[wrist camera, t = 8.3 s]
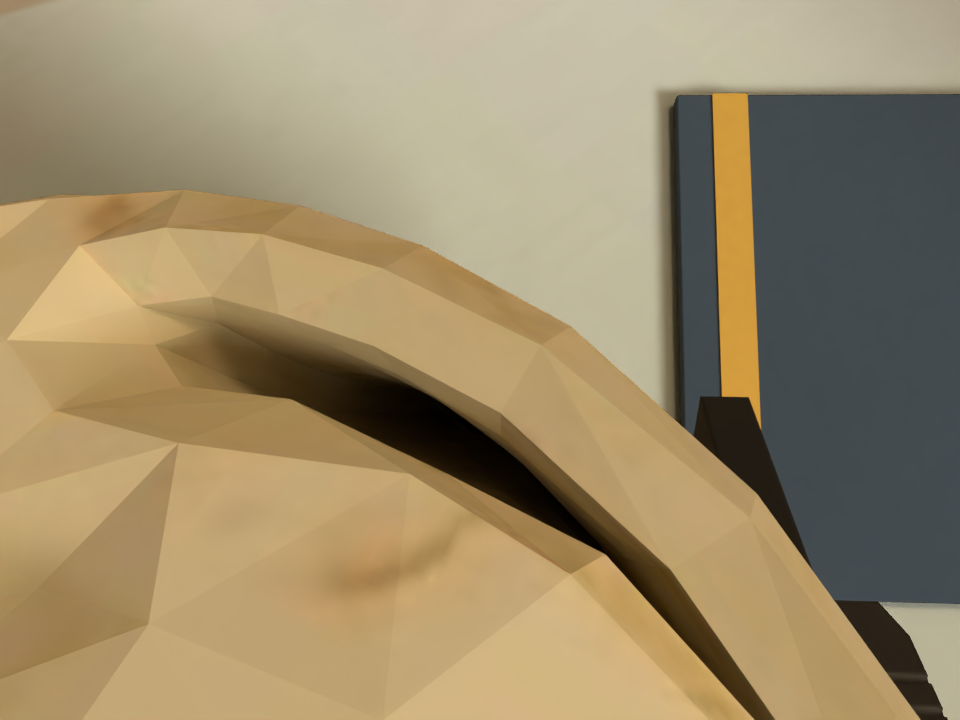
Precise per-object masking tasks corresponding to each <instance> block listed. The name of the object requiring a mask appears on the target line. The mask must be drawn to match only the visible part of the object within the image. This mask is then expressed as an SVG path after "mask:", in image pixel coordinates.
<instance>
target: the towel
mask: <svg viewBox="0 0 960 720" xmlns="http://www.w3.org/2000/svg"><path fill="white" fill-rule="evenodd" d="M674 127H675V173H676V218H677V264H678V310H679V355H680V401H681V426H682V427H683V428H684V429H686V430H687V431H688V432H689V433H690V434H691V435H692V436H693V435H694V430H695V424H696V418H697V412H698V407H699V401H700V396H714V397H749V399H750V402H751V404H752V407H753V410H754V412H755V415H756V418H757V421H758V423H759V426H760V429H761V431H762V434H763V437H764V440H765V442H766V445H767V448H768V450H769V453H770V456H771V459H772V461H773V464H774V467H775V469H776V472H777V475H778V478H779V480H780V483H781V486H782V488H783V491H784V494H785V497H786V499H787V502H788V505H789V507H790V510H791V513H792V516H793V518H794V521H795V524H796V526H797V529H798V532H799V535H800V537H801V540H802V543H803V545H804V548H805V551H806V554H807V556H808V559H809V562H810V564H811V567H812V570H813V572H814V573H815V575H816V576H817V577H818V579H819V580H820V582H821V583H822V584H823V586H824V587H825V589H826V590H827V591H828V593H829V594H830V595H831V597H832V598H833V600H843V601H876V602H909V603H944V604H960V94H897V95H748V93H712V95H679V96H677V98H676V100H675V103H674Z"/></svg>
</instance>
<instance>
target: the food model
mask: <svg viewBox="0 0 960 720" xmlns="http://www.w3.org/2000/svg"><path fill="white" fill-rule="evenodd" d="M0 720H920V718H919V717H918V716H917V714H916V713H915V712H914V710H913V709H912V707H911V706H910V705H909V703H908V702H907V700H906V699H905V698H904V696H903V695H902V694H901V692H900V691H899V689H898V688H897V687H896V685H895V684H894V683H893V681H892V680H891V678H890V677H889V676H888V674H887V673H886V671H885V670H884V669H883V667H882V666H881V665H880V663H879V662H878V660H877V659H876V658H875V656H874V655H873V653H872V652H871V651H870V649H869V648H868V647H867V645H866V644H865V642H864V641H863V640H862V638H861V637H860V635H859V634H858V633H857V631H856V630H855V629H854V627H853V626H852V624H851V623H850V622H849V620H848V619H847V618H846V616H845V615H844V613H843V612H842V611H841V609H840V608H839V606H838V605H837V604H836V602H835V601H834V600H833V598H832V597H831V595H830V594H829V593H828V591H827V590H826V589H825V587H824V586H823V584H822V583H821V582H820V580H819V579H818V577H817V576H816V575H815V573H814V572H813V571H812V569H811V568H810V566H809V565H808V564H807V562H806V561H805V559H804V558H803V557H802V555H801V554H800V553H799V551H798V550H797V548H796V547H795V546H794V544H793V543H792V542H791V540H790V539H789V537H788V536H787V535H786V533H785V532H784V530H783V529H782V528H781V526H780V525H779V524H778V522H777V521H776V519H775V518H774V517H773V515H772V514H771V512H770V511H769V510H768V508H767V507H766V506H765V504H764V503H763V501H762V500H761V499H760V497H759V496H758V495H757V493H756V492H755V491H753V490H752V489H751V488H750V487H749V486H748V485H747V484H746V483H745V482H743V481H742V480H741V479H740V478H739V477H738V476H737V475H736V474H735V473H733V472H732V471H731V470H730V469H729V468H728V467H727V466H726V465H725V464H723V463H722V462H721V461H720V460H719V459H718V458H717V457H716V456H714V455H713V454H712V453H711V452H710V451H709V450H708V449H707V448H706V447H704V446H703V445H702V444H701V443H700V442H699V441H698V440H697V439H696V438H694V437H693V436H692V435H691V434H690V433H689V432H688V431H687V430H686V429H684V428H683V427H682V426H681V425H680V424H679V423H678V422H677V421H676V420H674V419H673V418H672V417H671V416H670V415H669V414H668V413H667V412H666V411H664V410H663V409H662V408H661V407H660V406H659V405H658V404H657V403H655V402H654V401H653V400H652V399H651V398H650V397H649V396H648V395H647V394H645V393H644V392H643V391H642V390H641V389H640V388H639V387H638V386H637V385H635V384H634V383H633V382H632V381H631V380H630V379H629V378H628V377H627V376H625V375H624V374H623V373H622V372H621V371H620V370H619V369H618V368H617V367H615V366H614V365H613V364H612V363H611V362H610V361H609V360H608V359H607V358H605V357H604V356H603V355H602V354H601V353H600V352H599V351H598V350H596V349H595V348H594V347H593V346H592V345H591V344H590V343H589V342H588V341H586V340H585V339H584V338H583V337H582V336H581V335H580V334H579V333H578V332H576V331H575V330H574V329H573V328H572V327H571V326H569V325H567V324H565V323H563V322H562V321H560V320H558V319H556V318H554V317H552V316H551V315H549V314H547V313H545V312H543V311H541V310H540V309H538V308H536V307H534V306H532V305H530V304H529V303H527V302H525V301H523V300H521V299H519V298H518V297H516V296H514V295H512V294H510V293H508V292H507V291H505V290H503V289H501V288H499V287H497V286H496V285H494V284H492V283H490V282H488V281H486V280H485V279H483V278H481V277H479V276H477V275H475V274H474V273H472V272H470V271H468V270H466V269H464V268H463V267H461V266H459V265H457V264H455V263H453V262H452V261H450V260H448V259H446V258H444V257H442V256H441V255H439V254H437V253H435V252H433V251H431V250H430V249H428V248H426V247H424V246H422V245H419V244H416V243H413V242H410V241H407V240H404V239H401V238H398V237H395V236H391V235H388V234H385V233H382V232H379V231H376V230H373V229H370V228H367V227H364V226H361V225H358V224H355V223H352V222H348V221H345V220H342V219H339V218H336V217H333V216H330V215H327V214H324V213H321V212H318V211H315V210H312V209H309V208H305V207H302V206H298V205H291V204H284V203H277V202H270V201H262V200H255V199H248V198H241V197H234V196H227V195H219V194H212V193H205V192H198V191H191V190H173V191H158V192H143V193H128V194H113V195H98V196H90V195H71V194H60V195H53V196H47V197H41V198H35V199H29V200H23V201H17V202H11V203H5V204H0Z"/></svg>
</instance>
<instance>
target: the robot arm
mask: <svg viewBox="0 0 960 720" xmlns="http://www.w3.org/2000/svg"><path fill="white" fill-rule="evenodd" d="M693 437H694V438H696V439H697V440H698V441H699V442H700V443H701V444H702V445H703V446H704V447H706V448H707V449H708V450H709V451H710V452H711V453H712V454H713V455H714V456H716V457H717V458H718V459H719V460H720V461H721V462H722V463H723V464H725V465H726V466H727V467H728V468H729V469H730V470H731V471H732V472H733V473H735V474H736V475H737V476H738V477H739V478H740V479H741V480H742V481H743V482H745V483H746V484H747V485H748V486H749V487H750V488H751V489H752V490H753V491H755V492H756V493H757V495H758V496H759V497H760V499H761V500H762V501H763V503H764V504H765V506H766V507H767V508H768V510H769V511H770V512H771V514H772V515H773V517H774V518H775V519H776V521H777V522H778V524H779V525H780V526H781V528H782V529H783V530H784V532H785V533H786V535H787V536H788V537H789V539H790V540H791V542H792V543H793V544H794V546H795V547H796V548H797V550H798V551H799V553H800V554H801V555H802V557H803V558H804V559H805V561H806V562H807V564H808V565H809V566H810V568H811V569H812V567H811V564H810V562H809V559H808V556H807V554H806V551H805V548H804V545H803V543H802V540H801V537H800V535H799V532H798V529H797V526H796V524H795V521H794V518H793V516H792V513H791V510H790V507H789V505H788V502H787V499H786V497H785V494H784V491H783V488H782V486H781V483H780V480H779V478H778V475H777V472H776V469H775V467H774V464H773V461H772V459H771V456H770V453H769V450H768V448H767V445H766V442H765V440H764V437H763V434H762V431H761V429H760V426H759V423H758V421H757V418H756V415H755V412H754V410H753V407H752V404H751V402H750V399H749V397H714V396H700V401H699V407H698V412H697V418H696V424H695V430H694V435H693ZM812 571H813V570H812ZM834 601H835V602H836V604H837V605H838V606H839V608H840V609H841V611H842V612H843V613H844V615H845V616H846V618H847V619H848V620H849V622H850V623H851V624H852V626H853V627H854V629H855V630H856V631H857V633H858V634H859V635H860V637H861V638H862V640H863V641H864V642H865V644H866V645H867V647H868V648H869V649H870V651H871V652H872V653H873V655H874V656H875V658H876V659H877V660H878V662H879V663H880V665H881V666H882V667H883V669H884V670H885V671H886V673H887V674H888V676H889V677H890V678H891V680H892V681H893V683H894V684H895V685H896V687H897V688H898V689H899V691H900V692H901V694H902V695H903V696H904V698H905V699H906V700H907V702H908V703H909V705H910V706H911V707H912V709H913V710H914V712H915V713H916V714H917V716H918V717H919V718H920V720H948V719H947V717H944V716H943V713H942V710H943V708H942V706H941V704H940V702H939V699H938V697H937V695H936V693H935V691H934V688H933V686H932V684H929V683H928V680H927V677H928V675H927V673H926V671H925V669H924V667H923V664H922V662H921V660H920V658H919V656H918V653H917V651H916V649H915V647H914V645H913V642H912V640H911V638H910V636H909V635H908V634H907V633H906V632H905V631H904V629H903V628H902V627H901V626H900V625H899V624H898V623H897V622H896V621H895V620H894V619H893V618H892V616H891V615H890V614H889V613H888V612H887V611H886V610H885V609H884V608H883V607H882V606H881V605H880V603H879V602H876V601H843V600H834Z"/></svg>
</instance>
